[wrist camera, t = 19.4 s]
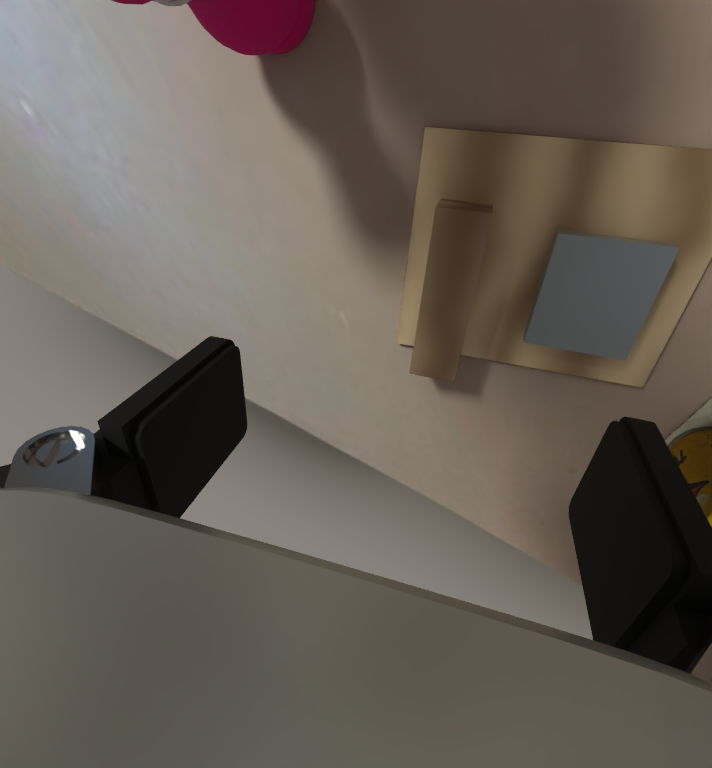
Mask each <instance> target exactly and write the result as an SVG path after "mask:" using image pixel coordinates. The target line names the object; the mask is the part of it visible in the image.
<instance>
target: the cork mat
mask: <svg viewBox="0 0 712 768" xmlns="http://www.w3.org/2000/svg"><path fill="white" fill-rule="evenodd" d="M441 199H449V200H458V201H467V202H476V203H485V204H493V215H492V220H491V224H490V228H489V233H488V237H487V241H486V246H485V250H484V255H483V259H482V263H481V268H480V272H479V276H478V281H477V285H476V290H475V294H474V298H473V303H472V307H471V312H470V316H469V320H468V325H467V329H466V333H465V338H464V342H463V347H462V351H461V355H465V356H470V357H476V358H481V359H487V360H492V361H498V362H504V363H509V364H515V365H520V366H526V367H531V368H537V369H542V370H548V371H553V372H559V373H564V374H570V375H575V376H581V377H586V378H592V379H597V380H603V381H608V382H614V383H620V384H625V385H631V386H636V387H642V388H643V386H644V385H645V383H646V381H647V379H648V377H649V375H650V373H651V371H652V369H653V368H654V366H655V364H656V362H657V360H658V358H659V356H660V354H661V352H662V351H663V349H664V347H665V345H666V343H667V341H668V339H669V337H670V335H671V333H672V332H673V330H674V328H675V326H676V324H677V322H678V320H679V318H680V316H681V315H682V313H683V311H684V309H685V307H686V305H687V303H688V301H689V299H690V298H691V296H692V294H693V292H694V290H695V288H696V286H697V284H698V282H699V281H700V279H701V277H702V275H703V273H704V271H705V269H706V267H707V265H708V264H709V262H710V260H711V258H712V150H710V149H697V148H685V147H672V146H659V145H647V144H634V143H621V142H609V141H596V140H584V139H571V138H558V137H546V136H533V135H521V134H508V133H495V132H483V131H470V130H457V129H445V128H432V127H425V130H424V138H423V146H422V153H421V161H420V169H419V176H418V184H417V192H416V199H415V207H414V215H413V222H412V230H411V238H410V245H409V253H408V261H407V268H406V276H405V284H404V291H403V299H402V307H401V314H400V322H399V329H398V337H397V343H399V344H404V345H410V346H414V342H415V335H416V329H417V322H418V316H419V310H420V303H421V297H422V290H423V284H424V278H425V271H426V265H427V258H428V252H429V246H430V239H431V233H432V226H433V220H434V214H435V207H436V206H437V204H438V203H439V201H440V200H441ZM556 229H559V230H568V231H576V232H584V233H593V234H601V235H610V236H618V237H626V238H635V239H643V240H652V241H660V242H668V243H673V244H675V245H676V246H678V247H679V248H680V249H679V251H678V253H677V255H676V257H675V259H674V261H673V263H672V265H671V268H670V270H669V272H668V274H667V276H666V278H665V280H664V282H663V284H662V286H661V288H660V290H659V292H658V295H657V297H656V299H655V301H654V303H653V305H652V307H651V309H650V311H649V313H648V315H647V317H646V319H645V322H644V324H643V326H642V328H641V330H640V332H639V334H638V336H637V338H636V340H635V342H634V344H633V346H632V349H631V351H630V353H629V355H628V357H627V359H626V360H622V359H616V358H610V357H604V356H599V355H593V354H587V353H581V352H575V351H569V350H563V349H558V348H552V347H546V346H540V345H534V344H528V343H524V340H523V333H524V330H525V327H526V323H527V320H528V317H529V314H530V311H531V307H532V304H533V301H534V298H535V295H536V291H537V288H538V285H539V282H540V279H541V276H542V272H543V269H544V266H545V263H546V260H547V256H548V253H549V250H550V247H551V244H552V240H553V237H554V234H555V231H556Z"/></svg>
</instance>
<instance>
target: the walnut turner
mask: <svg viewBox="0 0 712 768" xmlns="http://www.w3.org/2000/svg"><path fill="white" fill-rule="evenodd" d="M492 215H493V204H485V203H476V202H467V201H458V200H449V199H441V200H440V201H439V203H438V204H437V206H436V207H435V214H434V220H433V226H432V233H431V239H430V246H429V252H428V258H427V265H426V271H425V278H424V284H423V290H422V297H421V303H420V310H419V316H418V322H417V329H416V335H415V342H414V348H413V355H412V361H411V367H410V374H415V375H420V376H425V377H431V378H436V379H441V380H446V381H451V382H455V377H456V373H457V368H458V364H459V360H460V355H461V351H462V347H463V342H464V338H465V333H466V329H467V325H468V320H469V316H470V312H471V307H472V303H473V298H474V294H475V290H476V285H477V281H478V276H479V272H480V268H481V263H482V259H483V255H484V250H485V246H486V241H487V237H488V233H489V228H490V224H491V220H492Z"/></svg>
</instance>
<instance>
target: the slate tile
mask: <svg viewBox="0 0 712 768" xmlns="http://www.w3.org/2000/svg"><path fill="white" fill-rule="evenodd" d="M679 249H680V248H679V247H678V246H676V245H675V244H673V243H668V242H660V241H652V240H643V239H635V238H626V237H618V236H610V235H601V234H593V233H584V232H576V231H568V230H559V229H556V231H555V234H554V237H553V240H552V244H551V247H550V250H549V253H548V256H547V260H546V263H545V266H544V269H543V272H542V276H541V279H540V282H539V285H538V288H537V291H536V295H535V298H534V301H533V304H532V307H531V311H530V314H529V317H528V320H527V323H526V327H525V330H524V333H523V340H524V343H528V344H534V345H540V346H546V347H552V348H558V349H563V350H569V351H575V352H581V353H587V354H593V355H599V356H604V357H610V358H616V359H622V360H626V359H627V357H628V355H629V353H630V351H631V349H632V346H633V344H634V342H635V340H636V338H637V336H638V334H639V332H640V330H641V328H642V326H643V324H644V322H645V319H646V317H647V315H648V313H649V311H650V309H651V307H652V305H653V303H654V301H655V299H656V297H657V295H658V292H659V290H660V288H661V286H662V284H663V282H664V280H665V278H666V276H667V274H668V272H669V270H670V268H671V265H672V263H673V261H674V259H675V257H676V255H677V253H678V251H679Z"/></svg>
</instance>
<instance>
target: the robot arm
mask: <svg viewBox="0 0 712 768" xmlns="http://www.w3.org/2000/svg"><path fill="white" fill-rule="evenodd" d="M98 424H99V427H100V430H98V431H97V432H96V433H95V434H93V433H92V432H91V431H90V430H88V429H86V428H83V427H76V426H68V427H59V428H55V429H51V430H48V431H45V432H43V433H40V434H38V435H36V436H34V437H33V438H31V439H29V440H28V441H26V442H25V443H24V444H23V445H22V446H21V447H20V448H18V450H17V452H16V453H15V455H14V457H13V460H12V464H9V465H5V466H1V467H0V768H712V527H711V525H710V523H709V521H708V519H707V518H706V516H705V514H704V512H703V510H702V508H701V507H700V505H699V503H698V501H697V499H696V497H695V496H694V494H693V492H692V490H691V488H690V486H689V484H688V483H687V481H686V479H685V477H684V475H683V473H682V472H681V470H680V468H679V466H678V464H677V462H676V461H675V459H674V457H673V455H672V453H671V451H670V450H669V448H668V446H667V444H666V442H665V440H664V439H663V437H662V435H661V433H660V431H659V429H658V428H657V426H656V424H655V423H654V422H650V421H645V420H640V419H635V418H630V417H623V418H621V419H620V420H619V422H617V421H612V422H611V423H610V424H609V426H608V428H607V430H606V432H605V434H604V436H603V438H602V440H601V442H600V444H599V446H598V448H597V450H596V452H595V454H594V456H593V458H592V460H591V462H590V464H589V466H588V468H587V470H586V471H585V473H584V475H583V477H582V479H581V481H580V483H579V485H578V487H577V489H576V491H575V493H574V495H573V497H572V499H571V502H570V505H569V519H570V524H571V529H572V534H573V539H574V544H575V549H576V554H577V559H578V565H579V570H580V575H581V580H582V585H583V590H584V595H585V599H586V605H587V610H588V615H589V620H590V625H591V630H592V636H593V640H590V639H587V638H584V637H581V636H577V635H574V634H571V633H568V632H565V631H561V630H558V629H555V628H552V627H549V626H546V625H542V624H539V623H536V622H532V621H529V620H525V619H522V618H519V617H516V616H512V615H509V614H505V613H502V612H499V611H495V610H492V609H489V608H485V607H482V606H479V605H475V604H472V603H469V602H465V601H462V600H459V599H455V598H452V597H449V596H445V595H442V594H438V593H435V592H432V591H428V590H425V589H421V588H418V587H415V586H412V585H408V584H404V583H401V582H398V581H395V580H391V579H388V578H384V577H381V576H377V575H374V574H370V573H367V572H364V571H360V570H357V569H354V568H350V567H346V566H343V565H340V564H336V563H333V562H330V561H326V560H322V559H319V558H316V557H312V556H309V555H306V554H302V553H299V552H295V551H292V550H288V549H285V548H281V547H278V546H275V545H271V544H268V543H264V542H261V541H257V540H253V539H250V538H247V537H243V536H240V535H236V534H233V533H229V532H226V531H222V530H219V529H215V528H212V527H208V526H205V525H201V524H198V523H194V522H191V521H187V520H183V519H180V517H181V516H182V514H183V513H184V512H185V511H186V509H187V508H188V507H189V505H190V504H191V503H192V502H193V501H194V499H195V498H196V497H197V495H198V494H199V493H200V491H201V490H202V489H203V488H204V487H205V485H206V484H207V483H208V482H209V480H210V479H211V478H212V476H213V475H214V474H215V473H216V471H217V470H218V469H219V468H220V466H221V465H222V464H223V462H224V461H225V460H226V459H227V457H228V456H229V455H230V453H231V452H232V451H233V450H234V449H235V447H236V446H237V444H238V443H239V442H240V441H241V440H242V438H243V437H244V435H245V433H246V430H247V416H246V407H245V397H244V387H243V377H242V368H241V358H240V350H239V348H238V347H237V346H235V344H234V343H233V341H232V340H229V339H224V338H219V337H213V336H210V337H208V338H207V339H205V340H204V341H203V342H201V343H200V344H199V345H198V346H196V347H195V348H194V349H192V350H191V351H190V352H188V353H187V354H186V355H184V356H183V357H182V358H180V359H179V360H178V361H176V362H175V363H174V364H172V365H171V366H170V367H169V368H167V369H166V370H165V371H163V372H162V373H161V374H159V375H158V376H157V377H155V378H154V379H153V380H151V381H150V382H149V383H147V384H146V385H145V386H143V387H142V388H141V389H140V390H138V391H137V392H136V393H134V394H133V395H132V396H130V397H129V398H128V399H126V400H125V401H124V402H122V403H121V404H120V405H119V406H117V407H116V408H114V409H113V410H112V411H111V412H109V413H108V414H107V415H105V416H104V417H103V418H101V419H100V420H99V421H98Z"/></svg>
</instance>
